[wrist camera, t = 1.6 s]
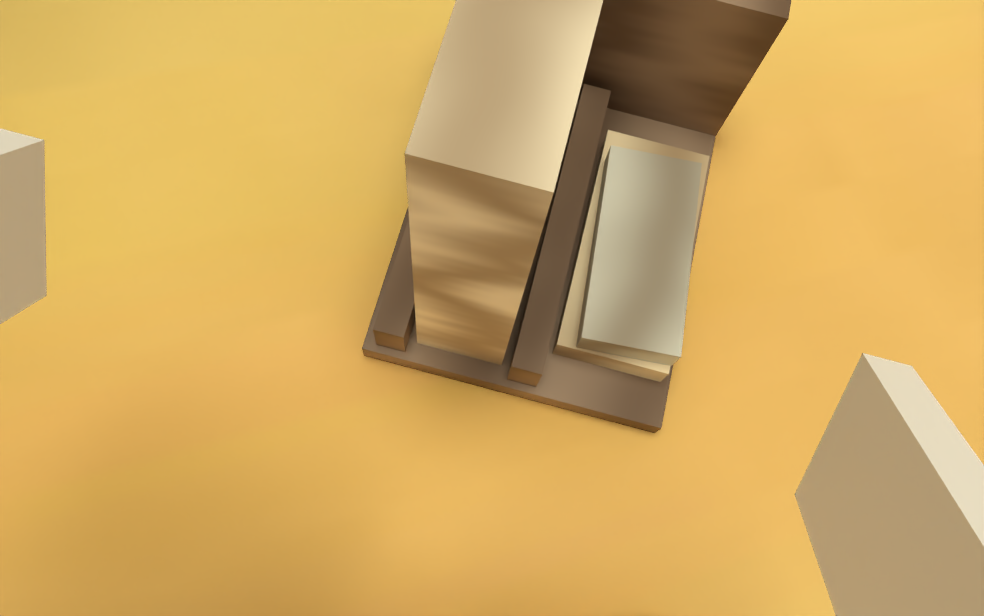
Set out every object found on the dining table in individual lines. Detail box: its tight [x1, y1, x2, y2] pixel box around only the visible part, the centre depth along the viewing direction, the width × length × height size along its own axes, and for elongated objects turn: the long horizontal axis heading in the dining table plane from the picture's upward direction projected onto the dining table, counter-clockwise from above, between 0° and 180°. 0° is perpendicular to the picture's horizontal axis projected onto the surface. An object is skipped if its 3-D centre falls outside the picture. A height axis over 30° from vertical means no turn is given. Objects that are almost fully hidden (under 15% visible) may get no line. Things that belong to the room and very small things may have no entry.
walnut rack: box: [362, 0, 791, 433], centre depth 31 cm, size 12×15×9 cm
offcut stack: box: [552, 130, 710, 382], centre depth 33 cm, size 4×10×3 cm, turn 166°
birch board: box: [405, 0, 603, 365], centre depth 27 cm, size 4×12×15 cm, turn 166°
